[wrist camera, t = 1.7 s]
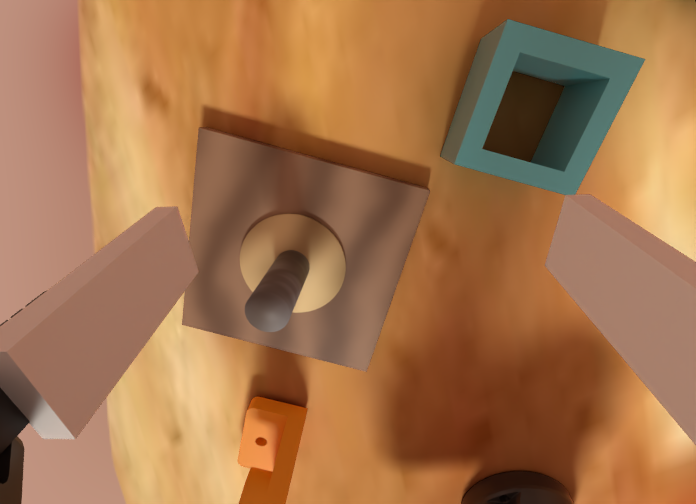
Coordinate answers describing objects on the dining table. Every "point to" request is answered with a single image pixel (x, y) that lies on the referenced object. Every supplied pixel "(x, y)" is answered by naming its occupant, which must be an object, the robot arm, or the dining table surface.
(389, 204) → the post base
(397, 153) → the dining table surface
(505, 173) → the collar
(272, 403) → the bracket
